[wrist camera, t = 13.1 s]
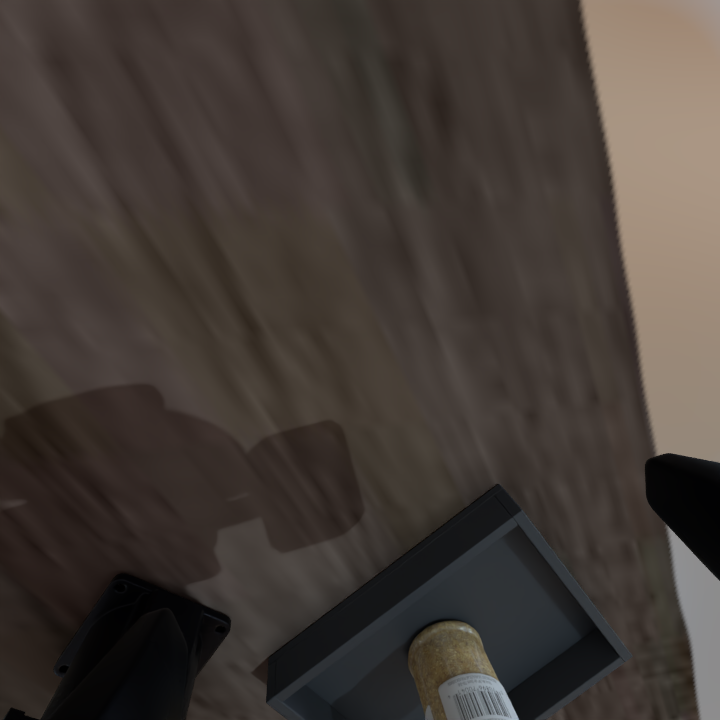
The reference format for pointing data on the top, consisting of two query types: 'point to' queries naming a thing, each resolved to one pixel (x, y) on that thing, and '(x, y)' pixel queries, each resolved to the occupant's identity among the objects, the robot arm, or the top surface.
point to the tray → (452, 603)
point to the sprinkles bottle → (456, 675)
